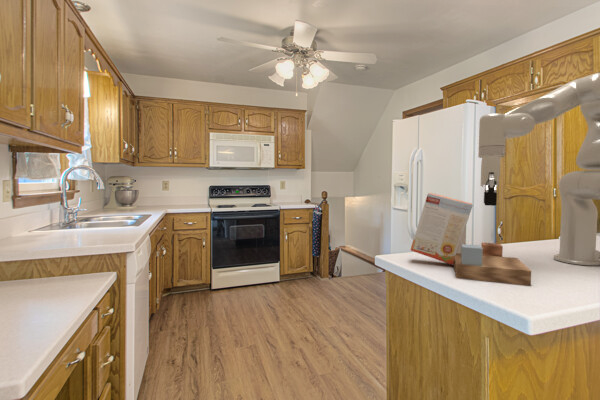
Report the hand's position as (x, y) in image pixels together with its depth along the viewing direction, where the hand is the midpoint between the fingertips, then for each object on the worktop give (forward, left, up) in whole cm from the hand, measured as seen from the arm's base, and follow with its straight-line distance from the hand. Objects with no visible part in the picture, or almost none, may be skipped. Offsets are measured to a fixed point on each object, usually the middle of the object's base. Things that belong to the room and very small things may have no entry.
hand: (489, 204), depth 105 cm
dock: (+2, +12, -20) cm, 24 cm away
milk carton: (+11, -9, -21) cm, 25 cm away
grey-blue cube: (+7, +17, -16) cm, 25 cm away
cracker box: (+17, +4, -18) cm, 26 cm away
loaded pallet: (-1, -3, -21) cm, 21 cm away
